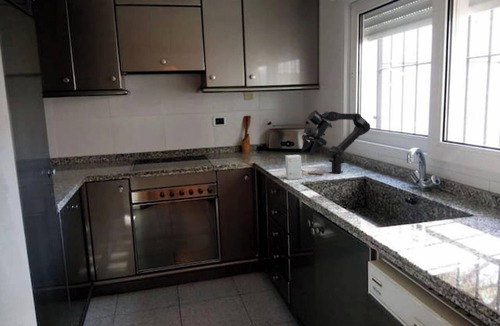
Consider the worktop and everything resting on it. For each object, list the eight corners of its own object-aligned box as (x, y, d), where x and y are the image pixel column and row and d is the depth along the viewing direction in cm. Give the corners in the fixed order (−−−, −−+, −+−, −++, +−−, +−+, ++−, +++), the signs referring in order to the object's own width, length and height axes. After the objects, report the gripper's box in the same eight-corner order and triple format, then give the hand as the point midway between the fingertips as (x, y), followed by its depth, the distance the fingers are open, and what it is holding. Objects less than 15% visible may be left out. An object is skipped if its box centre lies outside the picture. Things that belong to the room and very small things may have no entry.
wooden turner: (299, 172, 230) (299, 171, 230) (324, 174, 221) (324, 172, 221) (295, 174, 225) (295, 172, 225) (320, 176, 216) (320, 174, 216)
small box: (299, 176, 219) (298, 154, 217) (301, 178, 213) (301, 156, 211) (285, 177, 219) (285, 155, 216) (287, 179, 212) (287, 157, 210)
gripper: (302, 120, 221) (288, 142, 220) (320, 122, 204) (305, 145, 203) (315, 131, 226) (301, 152, 224) (333, 134, 209) (318, 157, 207)
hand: (306, 152), depth 214 cm, fingers open, 9 cm apart
